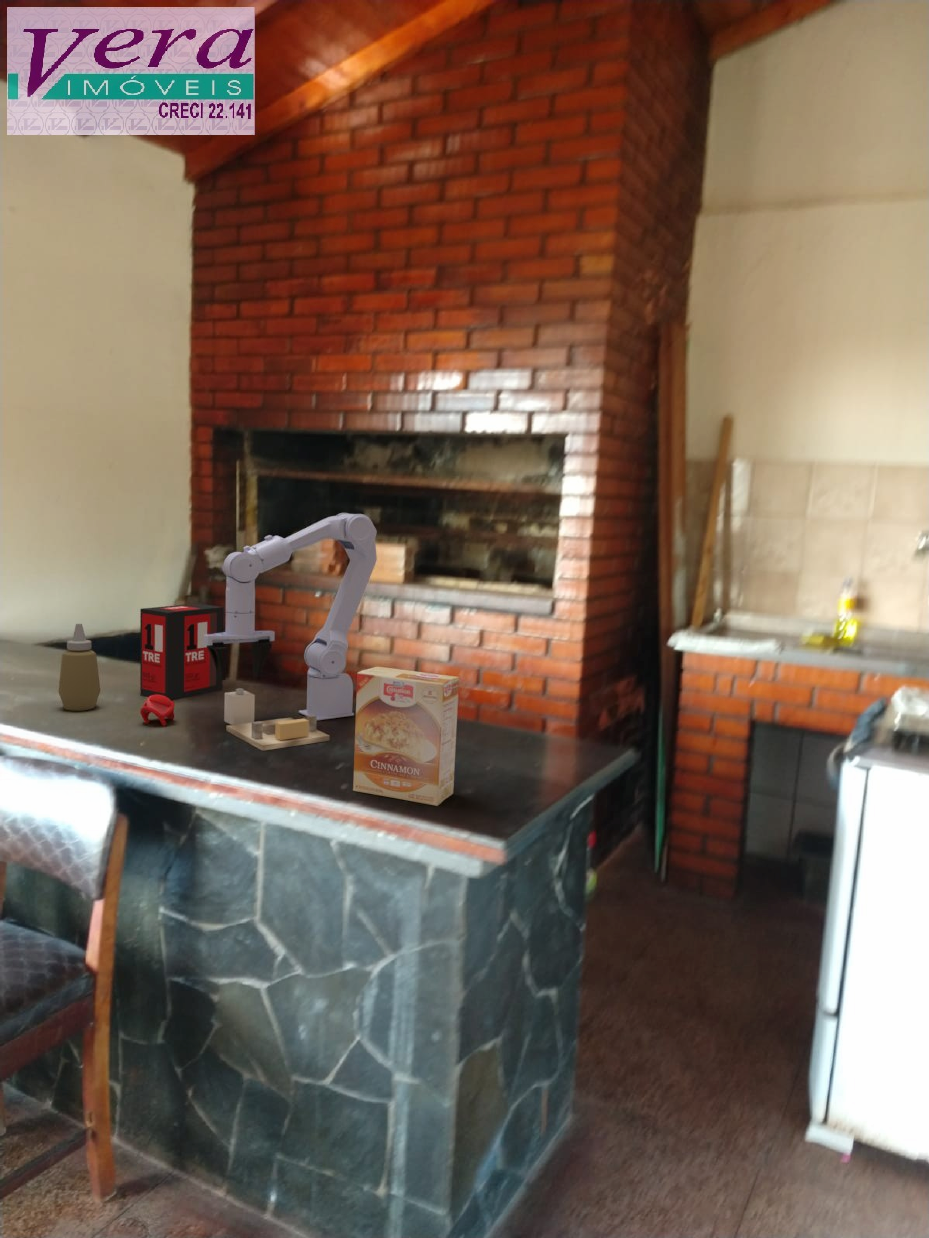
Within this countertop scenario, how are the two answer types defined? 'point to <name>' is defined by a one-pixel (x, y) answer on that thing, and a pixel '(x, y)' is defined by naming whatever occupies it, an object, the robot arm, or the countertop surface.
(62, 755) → the countertop surface
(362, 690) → the coffeecake box
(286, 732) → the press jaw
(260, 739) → the press bed
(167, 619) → the cleaning product box
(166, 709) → the red toy chair
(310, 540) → the robot arm
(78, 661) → the squeeze bottle
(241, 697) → the block
